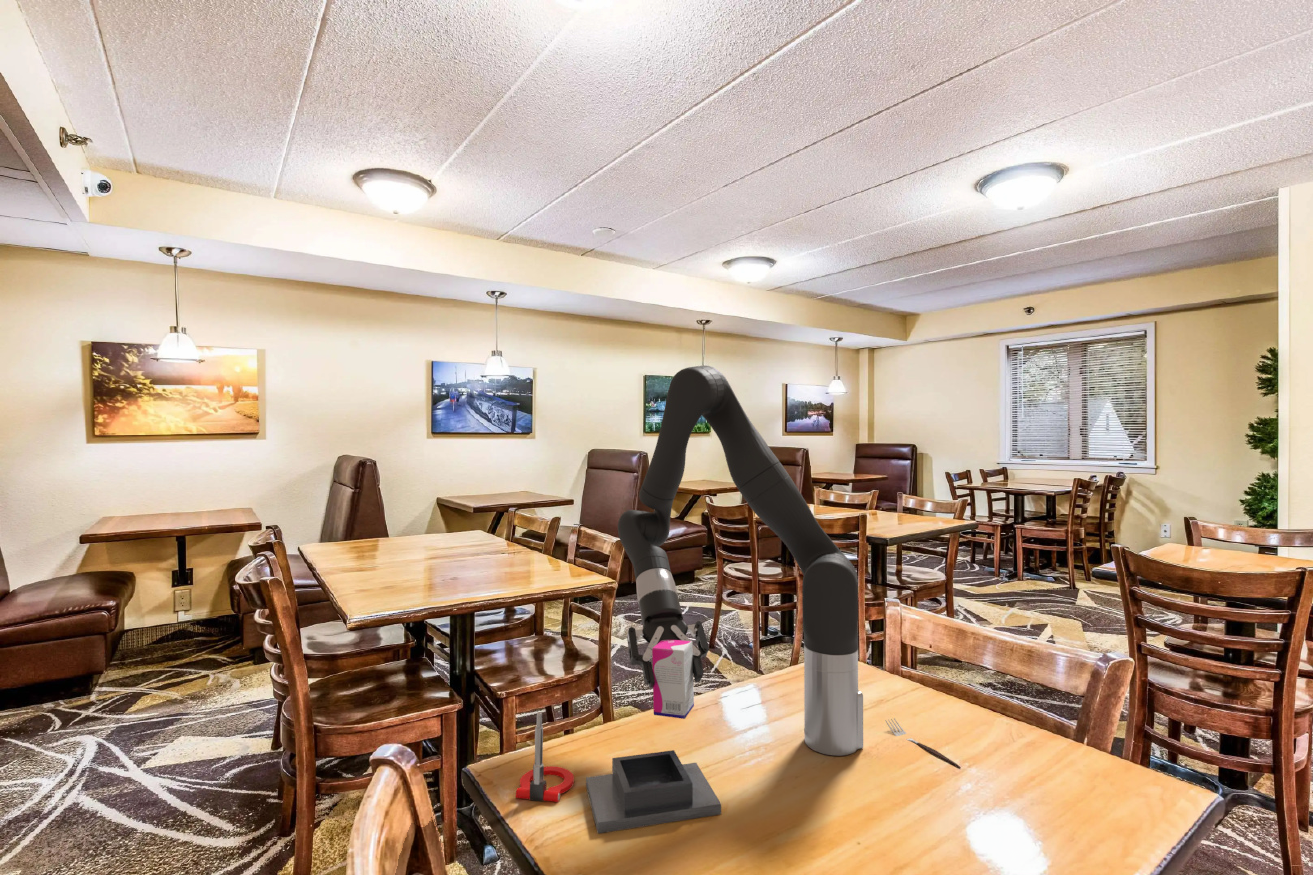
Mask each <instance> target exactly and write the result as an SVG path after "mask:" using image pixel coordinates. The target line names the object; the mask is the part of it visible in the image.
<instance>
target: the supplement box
mask: <svg viewBox="0 0 1313 875" xmlns="http://www.w3.org/2000/svg"><path fill="white" fill-rule="evenodd" d="M692 644H693V640H691V641H682V640H661V641H660V642H659V643H658V644H657V645H656V646H654V647H653V648H652V658H651V660H652V661H651V662H652V669H653V674H654V680H655V684H654V687H652V694H653V696H652V699H653V700H652V703H653V709H652V710H653V715H654V716H659V717H667V718H673V719H682V720H685V719H686V718H687V717H688V715H689V714H690V712H691V711H692V710H693V708H694V707H695V701H694V700H695V698H694V697H695V695H694V693H695V692H694V691H695V690H694V674H693V649H692Z"/></svg>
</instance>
